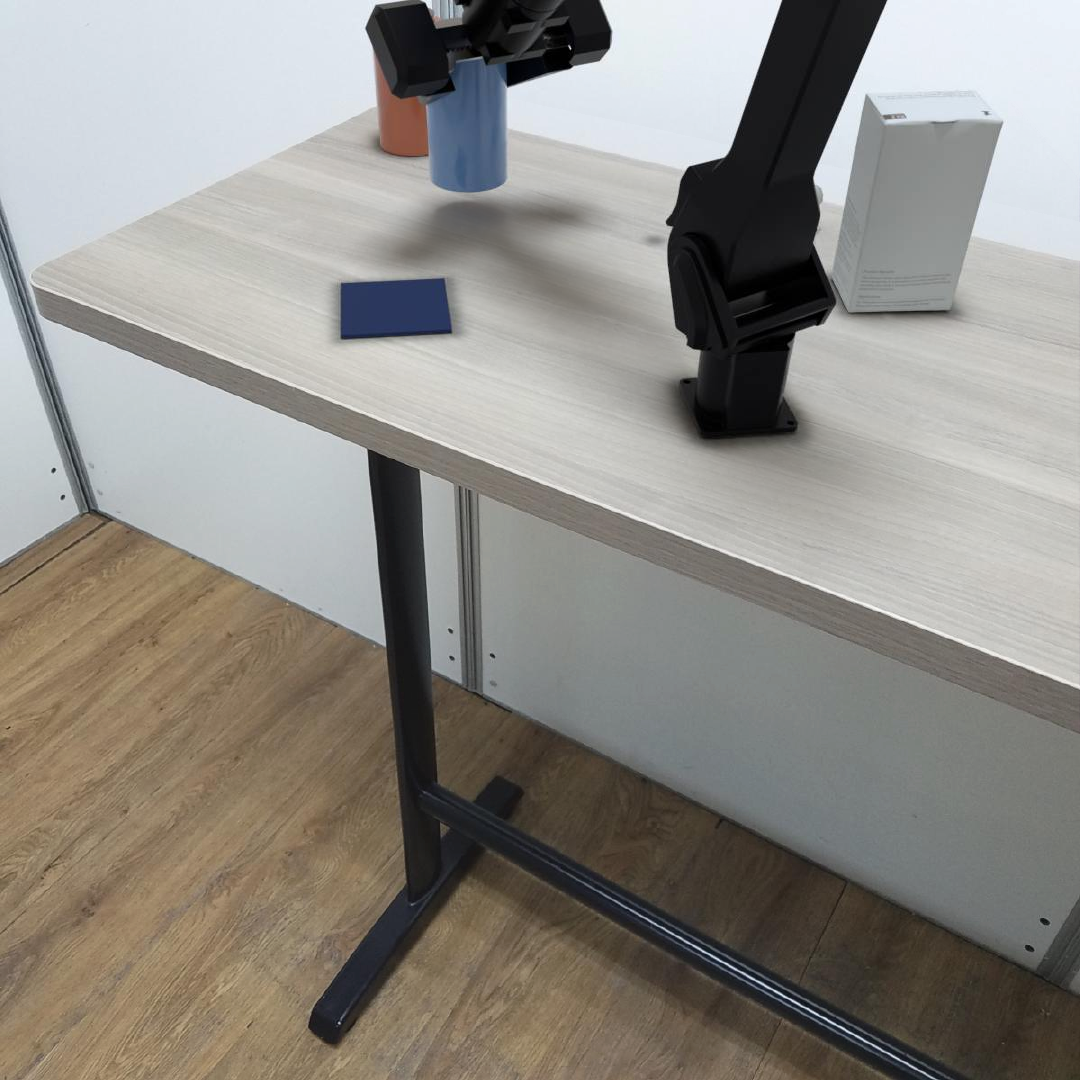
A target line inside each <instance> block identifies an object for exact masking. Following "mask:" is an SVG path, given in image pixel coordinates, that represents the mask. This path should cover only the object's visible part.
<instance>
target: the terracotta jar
mask: <svg viewBox="0 0 1080 1080" xmlns="http://www.w3.org/2000/svg"><path fill="white" fill-rule="evenodd" d="M428 10H429V12H430V15H431V17H432V20H433V22H434V23H435V22H437V21H440V20H442V18H441V17H439V16H436V13H435V10H434V9H432V8H430V7H428ZM371 48H372V49H371V50H372V60H373V73H374V74H373V75H374V85H375V99H376V110H377V111H376V112H377V123H378V137H379V138H378V139H379V145H380V148H381V149H382V150H383V151H385V152H386V153H389V154H392V155H395V156H402V157H423V156H429V154H428V136H427V117H426V105H424V106H421V105H420V103H419V100H418V98H417V96H416V97H411V98H405V99H400V98H398V97H396V96H395V95H393V94H391V92H390V89H389V87H388V84H387V82H386V79H385V77H384V74H383V72H382V69H381V67H380V64H379V62H378V59H377V57H376V54H375V52H374V49H373V47H372V46H371Z"/></svg>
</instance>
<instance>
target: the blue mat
mask: <svg viewBox="0 0 1080 1080" xmlns="http://www.w3.org/2000/svg"><path fill="white" fill-rule="evenodd" d="M446 286H447V285H446V281H445V278H444V277H441V278H437V277H436V278H421V279H420V278H417V279H399V280H397V279H396V280H378V281H377V280H375V281H355V282H341V283H340V339H343V340H344V339H362V338H377V337H378V338H379V337H380V338H381V337H396V336H397V337H399V336H415V335H416V336H417V335H434V334H435V335H436V334H452V333H453V328H452V321H451V314H450V308H449V307H450V306H449V301H448V294H447V287H446Z"/></svg>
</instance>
